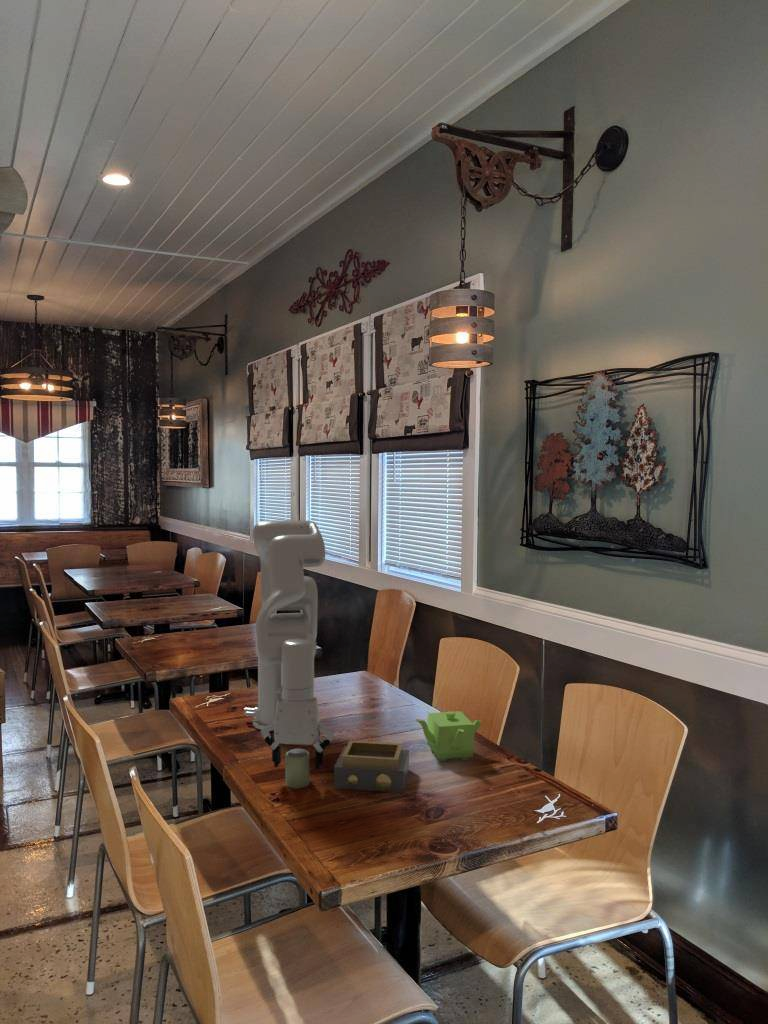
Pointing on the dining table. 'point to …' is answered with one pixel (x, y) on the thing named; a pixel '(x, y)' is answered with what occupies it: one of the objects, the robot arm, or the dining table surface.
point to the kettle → (450, 734)
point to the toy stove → (372, 767)
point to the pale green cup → (297, 768)
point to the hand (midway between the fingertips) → (297, 766)
